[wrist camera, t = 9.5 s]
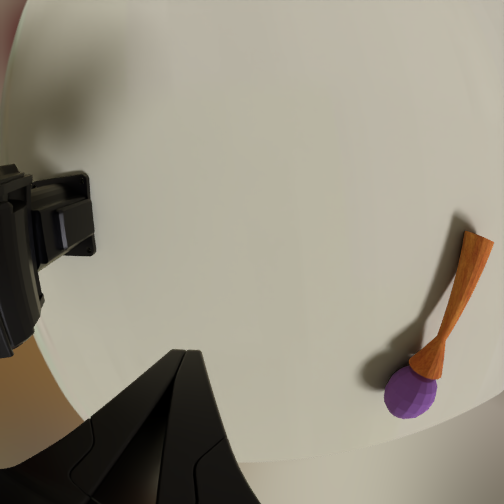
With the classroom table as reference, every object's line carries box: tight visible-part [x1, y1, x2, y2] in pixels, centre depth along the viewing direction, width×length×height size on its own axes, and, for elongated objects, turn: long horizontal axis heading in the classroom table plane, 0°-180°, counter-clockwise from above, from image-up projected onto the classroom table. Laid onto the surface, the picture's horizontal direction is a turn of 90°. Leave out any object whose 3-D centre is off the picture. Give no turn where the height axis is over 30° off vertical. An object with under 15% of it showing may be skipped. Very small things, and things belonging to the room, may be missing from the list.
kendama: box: [384, 231, 494, 419], centre depth 21 cm, size 6×6×20 cm
